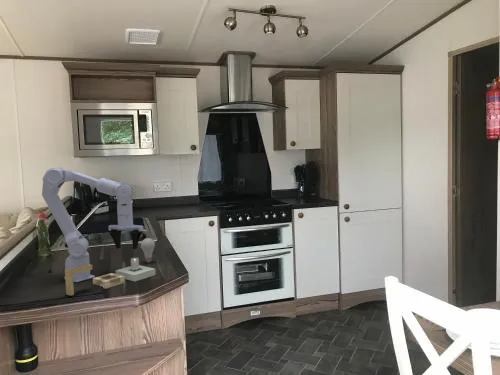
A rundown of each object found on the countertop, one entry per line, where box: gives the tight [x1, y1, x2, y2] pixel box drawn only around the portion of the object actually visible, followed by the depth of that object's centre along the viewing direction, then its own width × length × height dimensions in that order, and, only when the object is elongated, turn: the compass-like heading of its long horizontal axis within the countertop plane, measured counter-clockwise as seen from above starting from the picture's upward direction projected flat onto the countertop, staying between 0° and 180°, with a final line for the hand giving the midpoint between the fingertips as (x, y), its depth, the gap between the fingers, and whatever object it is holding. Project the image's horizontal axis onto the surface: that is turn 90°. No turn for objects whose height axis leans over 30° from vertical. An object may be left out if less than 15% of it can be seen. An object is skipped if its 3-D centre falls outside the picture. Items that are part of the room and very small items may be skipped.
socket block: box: [92, 272, 126, 289], centre depth 146 cm, size 8×8×2 cm
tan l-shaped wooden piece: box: [64, 264, 93, 296], centre depth 137 cm, size 3×8×9 cm, turn 143°
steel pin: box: [130, 257, 140, 272], centre depth 155 cm, size 3×3×7 cm
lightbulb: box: [140, 237, 156, 264], centre depth 175 cm, size 6×6×11 cm
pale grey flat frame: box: [114, 264, 157, 282], centre depth 156 cm, size 12×10×2 cm
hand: (126, 248), depth 158 cm, fingers open, 7 cm apart
